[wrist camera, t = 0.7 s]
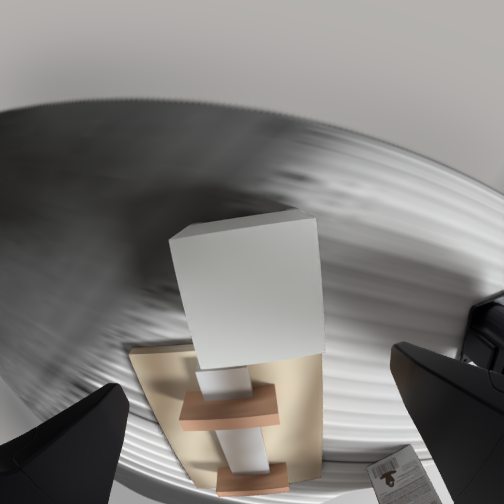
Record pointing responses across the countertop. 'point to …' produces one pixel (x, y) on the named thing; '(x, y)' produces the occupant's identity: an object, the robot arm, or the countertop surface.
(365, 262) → the countertop surface
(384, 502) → the coffee box
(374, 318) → the countertop surface
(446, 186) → the countertop surface
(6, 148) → the countertop surface
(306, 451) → the rail board
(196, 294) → the block
